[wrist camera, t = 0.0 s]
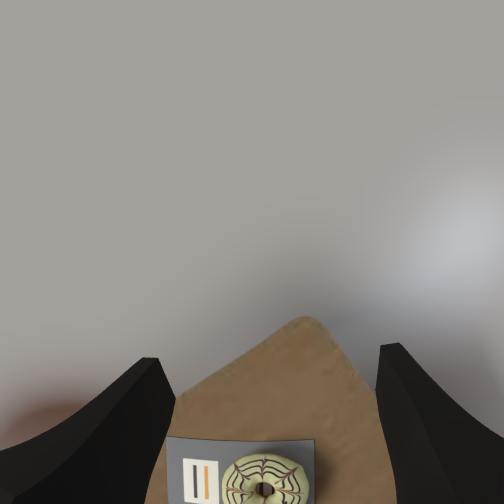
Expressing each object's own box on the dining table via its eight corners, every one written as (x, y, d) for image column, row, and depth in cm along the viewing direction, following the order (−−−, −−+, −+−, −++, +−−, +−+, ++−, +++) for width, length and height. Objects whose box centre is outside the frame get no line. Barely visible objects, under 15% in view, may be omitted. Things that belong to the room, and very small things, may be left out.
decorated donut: (307, 520, 30) (306, 530, 26) (226, 515, 32) (218, 524, 28) (310, 451, 34) (310, 456, 31) (227, 448, 36) (219, 452, 33)
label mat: (314, 525, 29) (314, 525, 29) (169, 515, 33) (169, 516, 32) (313, 439, 35) (313, 439, 35) (166, 436, 38) (166, 436, 38)
